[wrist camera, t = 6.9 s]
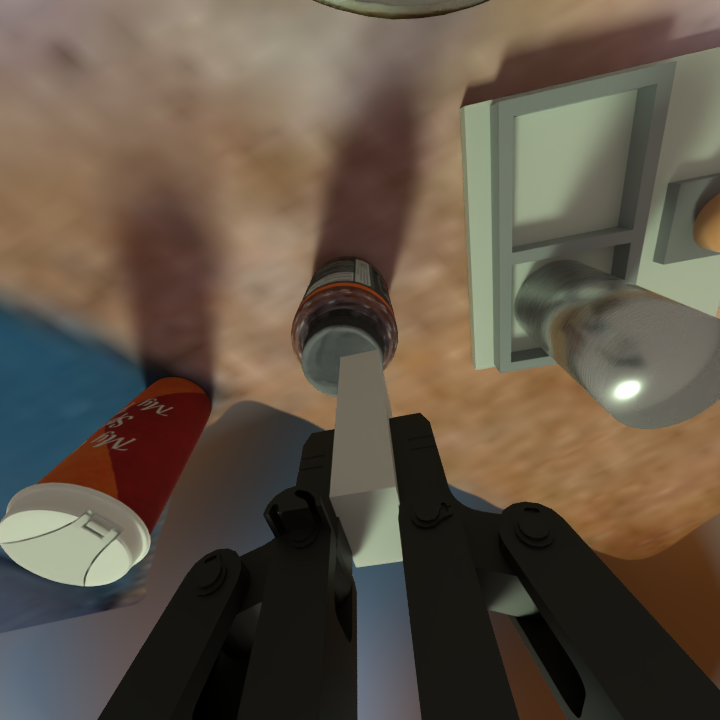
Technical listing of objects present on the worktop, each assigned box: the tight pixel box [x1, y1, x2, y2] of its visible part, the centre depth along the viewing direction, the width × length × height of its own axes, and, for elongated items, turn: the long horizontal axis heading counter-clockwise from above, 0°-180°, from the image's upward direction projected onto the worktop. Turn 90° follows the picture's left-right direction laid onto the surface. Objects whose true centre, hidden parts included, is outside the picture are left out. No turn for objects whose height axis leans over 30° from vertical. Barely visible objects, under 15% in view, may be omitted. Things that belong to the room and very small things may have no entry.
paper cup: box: [0, 377, 211, 586], centre depth 25 cm, size 8×8×14 cm
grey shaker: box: [514, 260, 720, 429], centre depth 21 cm, size 6×6×11 cm
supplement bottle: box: [291, 256, 398, 397], centre depth 22 cm, size 6×6×11 cm
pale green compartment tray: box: [460, 47, 720, 373], centre depth 23 cm, size 18×18×2 cm
